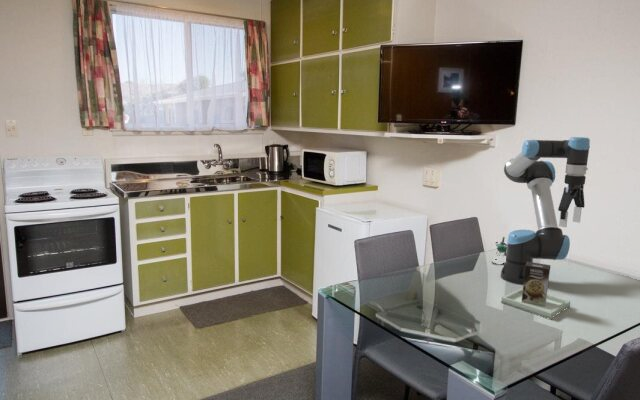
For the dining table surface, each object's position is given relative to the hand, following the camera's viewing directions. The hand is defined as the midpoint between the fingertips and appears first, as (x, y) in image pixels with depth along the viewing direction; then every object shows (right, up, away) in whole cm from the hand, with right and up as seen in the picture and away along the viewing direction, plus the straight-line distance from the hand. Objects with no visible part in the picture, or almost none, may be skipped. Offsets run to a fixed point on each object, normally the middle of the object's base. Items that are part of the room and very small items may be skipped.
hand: (569, 224), depth 195 cm
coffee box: (-17, -32, -4) cm, 37 cm away
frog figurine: (-9, -23, +50) cm, 56 cm away
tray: (-17, -33, -5) cm, 38 cm away
